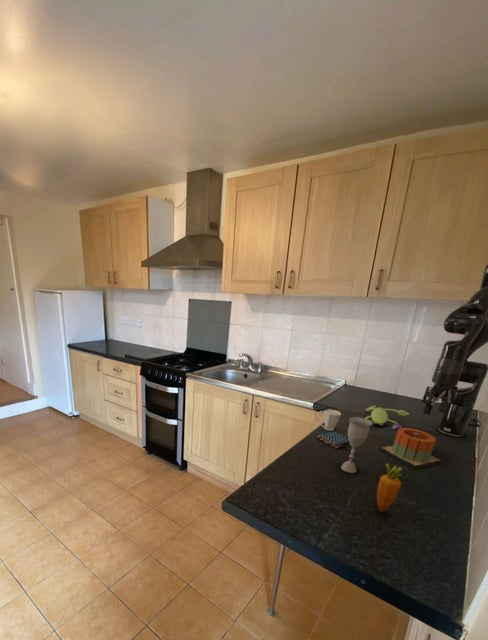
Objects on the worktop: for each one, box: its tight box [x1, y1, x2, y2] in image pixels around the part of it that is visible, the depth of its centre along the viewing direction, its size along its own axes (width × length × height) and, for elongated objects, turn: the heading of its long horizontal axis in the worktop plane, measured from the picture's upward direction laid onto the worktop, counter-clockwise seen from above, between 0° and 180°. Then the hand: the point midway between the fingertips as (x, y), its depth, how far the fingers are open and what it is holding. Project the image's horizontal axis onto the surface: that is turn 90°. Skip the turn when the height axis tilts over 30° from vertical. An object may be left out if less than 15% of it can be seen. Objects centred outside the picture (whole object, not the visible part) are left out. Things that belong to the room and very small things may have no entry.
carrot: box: [376, 463, 403, 514], centre depth 90 cm, size 5×5×15 cm
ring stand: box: [381, 432, 441, 466], centre depth 124 cm, size 14×14×10 cm
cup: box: [315, 408, 342, 432], centre depth 147 cm, size 7×10×8 cm
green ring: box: [392, 440, 433, 462], centre depth 125 cm, size 12×12×4 cm
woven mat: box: [316, 431, 349, 449], centre depth 135 cm, size 10×11×2 cm
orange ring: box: [394, 427, 437, 452], centre depth 124 cm, size 12×12×4 cm
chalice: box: [340, 416, 373, 474], centre depth 112 cm, size 7×7×18 cm
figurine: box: [357, 405, 410, 430], centre depth 159 cm, size 18×27×6 cm
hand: (434, 413), depth 123 cm, fingers open, 8 cm apart
